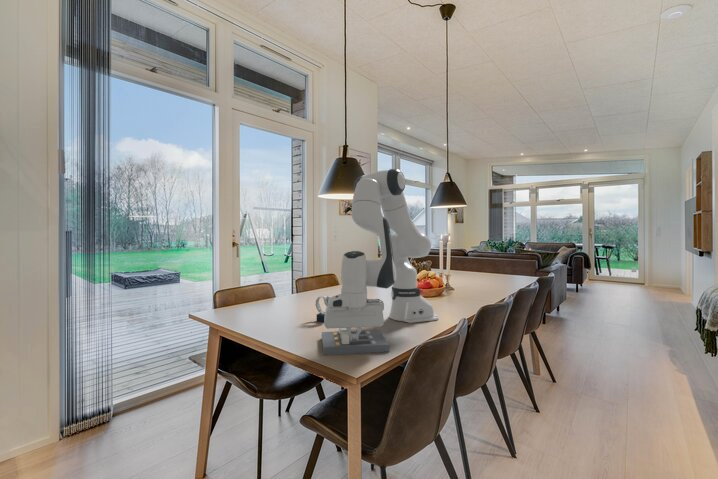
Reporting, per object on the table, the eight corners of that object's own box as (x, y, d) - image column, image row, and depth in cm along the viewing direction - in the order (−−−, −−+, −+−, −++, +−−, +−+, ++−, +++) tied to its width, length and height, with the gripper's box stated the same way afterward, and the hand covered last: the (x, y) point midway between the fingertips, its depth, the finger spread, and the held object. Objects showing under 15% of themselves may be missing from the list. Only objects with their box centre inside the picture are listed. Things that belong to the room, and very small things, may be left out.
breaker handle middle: (346, 336, 128) (346, 327, 128) (347, 338, 125) (347, 329, 125) (340, 336, 128) (340, 328, 127) (340, 339, 125) (340, 330, 125)
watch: (328, 323, 155) (328, 298, 155) (313, 320, 159) (313, 296, 158) (335, 320, 160) (335, 295, 160) (319, 317, 164) (319, 294, 163)
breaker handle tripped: (348, 341, 123) (348, 332, 122) (349, 344, 120) (349, 334, 120) (341, 341, 122) (341, 332, 122) (342, 344, 120) (342, 334, 119)
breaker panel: (379, 336, 137) (379, 329, 137) (389, 351, 120) (389, 344, 120) (321, 338, 134) (321, 331, 134) (323, 355, 117) (323, 347, 117)
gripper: (382, 296, 125) (381, 335, 126) (323, 298, 122) (323, 338, 123) (386, 300, 119) (385, 341, 120) (324, 302, 116) (324, 344, 117)
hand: (353, 339), depth 121 cm, fingers closed
